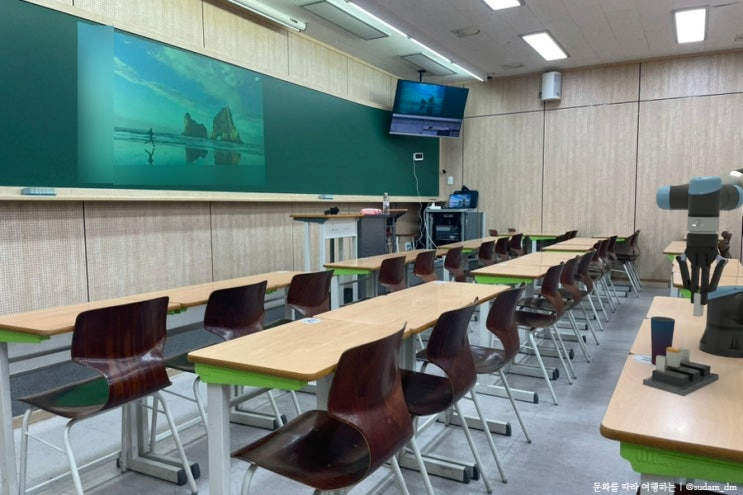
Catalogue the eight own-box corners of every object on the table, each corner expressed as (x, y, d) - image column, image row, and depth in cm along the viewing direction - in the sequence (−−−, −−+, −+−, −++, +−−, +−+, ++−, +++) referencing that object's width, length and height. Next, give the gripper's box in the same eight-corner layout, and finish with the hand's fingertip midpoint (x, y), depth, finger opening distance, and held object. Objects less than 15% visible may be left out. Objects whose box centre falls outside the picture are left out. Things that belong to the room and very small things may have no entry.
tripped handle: (668, 363, 155) (669, 346, 154) (680, 366, 152) (680, 349, 152) (665, 365, 153) (666, 348, 153) (676, 367, 151) (677, 350, 150)
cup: (645, 364, 167) (648, 318, 166) (652, 359, 172) (654, 315, 171) (669, 369, 163) (672, 322, 161) (675, 364, 167) (677, 318, 166)
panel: (678, 369, 162) (680, 344, 161) (718, 379, 153) (720, 352, 152) (642, 384, 149) (644, 356, 148) (683, 395, 140) (685, 366, 139)
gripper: (671, 231, 147) (667, 313, 150) (723, 234, 137) (718, 321, 139) (683, 230, 152) (679, 310, 154) (734, 233, 141) (730, 318, 143)
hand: (698, 315), depth 147 cm, fingers closed
